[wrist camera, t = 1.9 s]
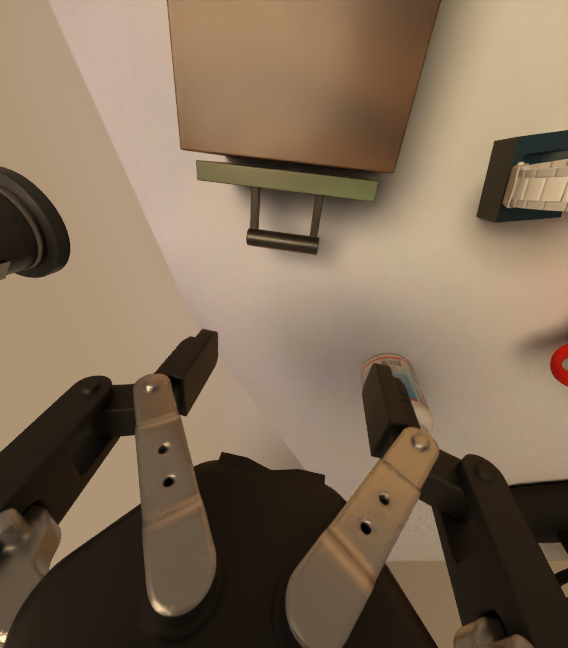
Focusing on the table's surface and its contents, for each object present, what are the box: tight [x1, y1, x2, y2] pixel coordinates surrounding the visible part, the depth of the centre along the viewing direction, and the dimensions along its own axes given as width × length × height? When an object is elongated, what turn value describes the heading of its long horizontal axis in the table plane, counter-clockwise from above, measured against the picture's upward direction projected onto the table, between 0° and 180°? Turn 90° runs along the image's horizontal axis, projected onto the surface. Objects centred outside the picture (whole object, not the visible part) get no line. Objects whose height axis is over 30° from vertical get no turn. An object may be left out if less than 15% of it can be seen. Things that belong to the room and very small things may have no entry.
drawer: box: [196, 160, 379, 255], centre depth 18 cm, size 19×12×6 cm, turn 174°
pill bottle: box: [361, 354, 433, 437], centre depth 28 cm, size 6×6×11 cm
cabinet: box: [167, 0, 441, 173], centre depth 16 cm, size 16×14×8 cm
